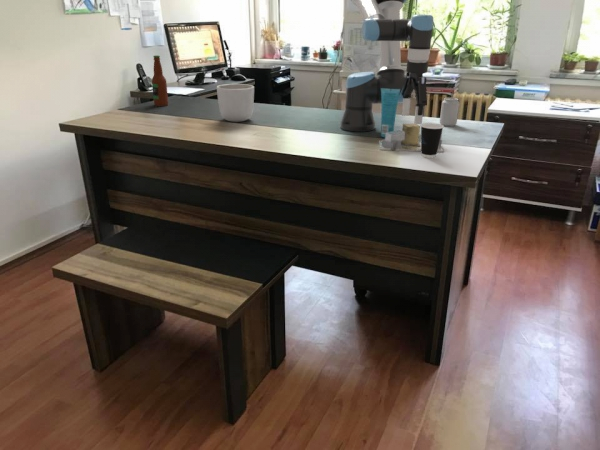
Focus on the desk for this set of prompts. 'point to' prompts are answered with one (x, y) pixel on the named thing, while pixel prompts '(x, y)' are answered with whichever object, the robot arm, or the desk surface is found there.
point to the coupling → (411, 134)
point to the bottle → (159, 84)
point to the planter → (236, 101)
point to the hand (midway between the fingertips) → (411, 119)
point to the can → (449, 112)
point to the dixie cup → (430, 139)
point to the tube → (388, 109)
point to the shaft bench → (394, 142)
